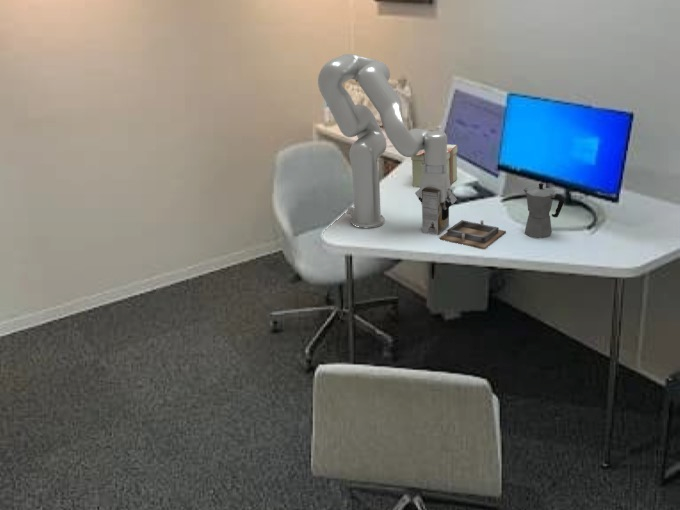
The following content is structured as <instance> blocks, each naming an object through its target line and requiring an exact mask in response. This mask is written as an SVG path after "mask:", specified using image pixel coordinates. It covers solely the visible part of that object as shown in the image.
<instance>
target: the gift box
mask: <svg viewBox="0 0 680 510" xmlns="http://www.w3.org/2000/svg"><path fill="white" fill-rule="evenodd" d="M457 153H458V144H449V143H447V172H448V173H449V178H450V186H451V185H452V184H453V183H454V182H455V181H457V180H458V171H457V170H458V169H457V168H458V166H457V165H458V164H457V163H458V162H457V161H458V160H457V157H458V156H457ZM410 160H411V163H412V164H411V166H412V167H411V168H412V169H411V171H412V187H414V188H420V182H421V176H422V171H424V167H423V166H422V163H424V162H425V158H424V150H422V151H419V152H418V153H417V154H416V155H414V156H412V157H410Z"/></svg>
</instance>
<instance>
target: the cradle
mask: <svg viewBox="0 0 680 510" xmlns="http://www.w3.org/2000/svg"><path fill="white" fill-rule="evenodd" d="M506 233H507V231H506V230H502V229H499V227H497V226H492V225H488V224H484V219H483V220H480V223H477V222H473V221H467V220H463V219H461V220H460V221H458V222H457V223H456V224H454V225H453V226H450V228H447V230H446V232H445V233H443V234H442V235H440V236H439V238H438V239H440V240H441V241H444V240H445V242H448V241H449V243H454V244H457V243H458V245H462V244H463V246H467V247H473V248H475V249H476V248H477V249H481V250H484V249H485V250H486V249H488V248H489V247H490V246H491V245H492V244H494V243H495V242H496V241H498V240H499V239H500V238H502V237H503V236H504V235H505V234H506ZM488 246H489V247H488Z"/></svg>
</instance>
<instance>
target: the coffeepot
mask: <svg viewBox="0 0 680 510" xmlns="http://www.w3.org/2000/svg"><path fill="white" fill-rule="evenodd" d="M544 186H545V184H544V183H543V182H542V183H541V182H539V183H538V187H526V188H523V191H524V193H525V195H526V201H527V202H526V203H527V211H528V216H527V221H526V225H525V228H524V232H523V233H524V235H526V236H527V237H530V238H533V239H546V238H549V237H551V236H552V232H553V230H552V229H553V228H552V222H551V221H552V220H551V217H552V218H558V217H559V216H560V213H561V210H562V208H563V206H564V204H565V198H564V197H563V196H562V195H561V194H560V193H555V192H556V191H555V190H552V189H551V188H549V187H544ZM554 200H557V201H558V203H557V207H556V209H555V213H554V214H553V213H551V215H550V212H551V211H552V210H551V209H552V205H553V201H554Z"/></svg>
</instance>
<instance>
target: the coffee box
mask: <svg viewBox="0 0 680 510" xmlns="http://www.w3.org/2000/svg"><path fill="white" fill-rule="evenodd" d="M442 197H443V196H442ZM448 201H449V202H450V199H448ZM442 209H443V206H442V203H441V202H440V191H439V190H434V189H429V188H424V189H422V204H421V216H422V218H421V220H422V221H421V222H422V224H421V225H422V226H421V227H422V228H421V231H422V233H423V234H428V233H429V234H430V235H435V236H439V235H440V234H441V233H442V232H444V231H445V230H446V229H448V227H449V226H450V215H449V216H448V218H446V219H445V220H442Z"/></svg>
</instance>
